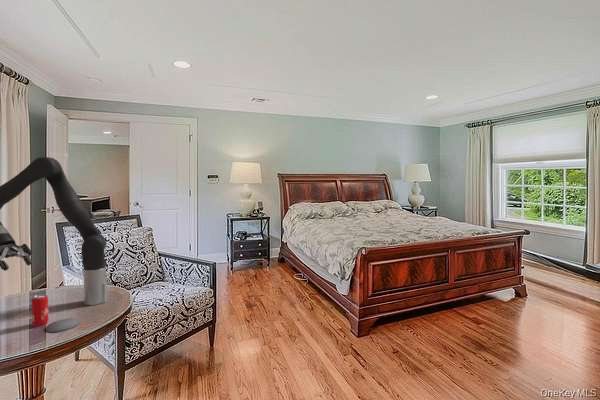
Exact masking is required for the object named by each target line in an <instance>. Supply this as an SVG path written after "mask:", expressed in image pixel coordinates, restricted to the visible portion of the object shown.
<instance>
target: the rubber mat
mask: <svg viewBox="0 0 600 400" xmlns="http://www.w3.org/2000/svg"><path fill="white" fill-rule="evenodd" d="M79 325H80V320H79V319H78V318H63V319H59V320H56V321H54V322H51V323H49V324H48V325H46V327H45V330H46V332H48V333H60V332H66V331H69V330H72V329H74V328H76V327H78V326H79Z"/></svg>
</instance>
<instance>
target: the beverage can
mask: <svg viewBox="0 0 600 400" xmlns="http://www.w3.org/2000/svg"><path fill="white" fill-rule="evenodd" d="M31 318H32V319H31V320H32V321H31V322H32V326H33V327H35V328H39V327H43V326H47V324H48V322H49V297H48V295H47V294H37V295H35V296H32V298H31Z"/></svg>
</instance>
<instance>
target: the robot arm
mask: <svg viewBox="0 0 600 400" xmlns="http://www.w3.org/2000/svg"><path fill="white" fill-rule="evenodd" d="M41 179H45V180H46V181H47V182H48V184H49V186H50V187H51V189H52V192H53V195H54V199H55V203H56V205H57V207H58V209H59V210H60V212H61V214H62V216H63V217H64V218H65V219H66V221H68V222H69V223H70V224H71V225H72V226H73V227H74V228H75V229H76V230H77V232H79V234H80V236H81V238H82V240H83V242H82V244H81V263H82V266H83V300H84V305H85V306H94V305H95V306H96V305H101V304H104V303H105V304H106V302H107V300H108V280H107V268H106V265H107V263H106V260H105V249H106V247H107V239H106V238H105V237H104V236H103V234H102V233H101V231H100V230H99V229H98V228H97V227H96V225H95V223H94V222H93V219H92V218H91V216H90V214H89V212H88V210H87V209H86V207H85V205H84V203H83V202H82V200H81V198H80V197H79V196H78V194H77V192H76V191H75V189H74V188H73V187H72V185H71V183H70V182H69V179H68V178H67V176H66V174H65V171H64V170H63V166H62V164H61V163H60V162H59V161H58V160H57V159H55V158H54V157H49V156H40V157H36V158H35V159H34V160H33V161H31V163H29V164H28V165H27V166H26V167H25V168H24V169H22V170H21V171H20V172H19V173H18V174H16V175H14V177H12V178H11V179H10V180H8V181H6V182H5V183H3V184H2V185H0V210H1V209H2V208H3V207H4V206H5V205H6V204H8V203H9V202H11V201H12V200H14V199H15V198H17V197H18V196H19V195H20V194H21V193H23V192H24V190H25V189H27V188H28V187H29V186H31V185H32V184H34V183H35V182H36V181H39V180H41ZM32 254H33V251H32V250H31V249H30V248H29V247H28V245H27V244H26V243H23V244H22V245H17V243H16V241H15V239H14V237H13V236H12V235H11V233H10V232H9V230H8V229H7V228H6V227H5V226H4V225H3V223H2V222H1V221H0V269H1V270H3V271H4V272H6V271H8V270H9V268H10V267H9V265H8V263H7V262H6V261H5V259H9V258H13V257H16V258H20V259H23V261H24V263H25V264H26V266H32V265H31V264H32V262H33V260H32V258H31V255H32Z"/></svg>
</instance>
